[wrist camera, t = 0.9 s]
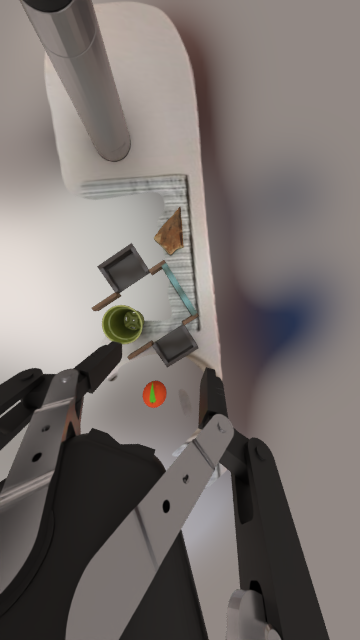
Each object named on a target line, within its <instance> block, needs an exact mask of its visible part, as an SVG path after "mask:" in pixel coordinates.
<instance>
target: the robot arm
mask: <svg viewBox="0 0 360 640" xmlns="http://www.w3.org/2000/svg"><path fill="white" fill-rule="evenodd" d="M20 2H21V4H22V6H23V8H24V10H25V12H26V14H27V16H28V18H29V20H30V22H31V23H32V25H33V27H34V29H35V31H36V33H37V35H38V37H39V39H40V41H41V42H42V45H43V46H44V48H45V50H46V52H47V54H48V56H49V58H50V60H51V62H52V64H53V66H54V68H55V70H56V72H57V74H58V76H59V77H60V79H61V81H62V83H63V85H64V87H65V89H66V91H67V93H68V95H69V97H70V99H71V101H72V103H73V105H74V107H75V108H76V110H77V112H78V114H79V116H80V118H81V120H82V122H83V124H84V126H85V128H86V130H87V132H88V134H89V136H90V138H91V140H92V142H93V143H94V145H95V147H96V149H97V151H98V153H99V154H100V155H101V156H102V157H104V158H105V159H107V160H110V161H118V160H120V159H122V158H124V157H125V156H126V154H127V153H128V151H129V148H130V135H129V132H128V128H127V125H126V121H125V117H124V114H123V110H122V106H121V103H120V99H119V96H118V92H117V89H116V85H115V82H114V78H113V74H112V71H111V67H110V64H109V60H108V57H107V53H106V49H105V46H104V42H103V39H102V35H101V32H100V28H99V24H98V21H97V17H96V14H95V10H94V7H93V3H92V0H20ZM121 358H122V343H119V342H115V341H112V342H111V343H110V344H108V345H104V346H102V347H100V348H98V349H97V350H96V351H95V352H94V353H92V354H91V355H90V356H88V357H87V358H86V359H85V360H83V361H82V362H81V363H80V364H78V365H77V366H76V367H75V368H73V369H67V370H64V371H61V372H59V373H58V374H43V372H42V370H41V369H37V368H32V369H28V370H25V371H22V372H20V373H18V374H17V375H15V376H13V377H12V378H10V379H9V380H7V381H6V382H4V383H2V384H1V385H0V415H1V414H2V413H4V412H5V411H6V410H7V409H9V408H10V407H11V406H13V405H14V404H15V403H16V402H17V401H19V400H21V402H20V403H18V404H17V405H16V406H15V407H13V408H12V409H11V410H10V411H8V412H7V413H6V414H5V415H3V416H2V417H1V418H0V450H1V449H2V448H3V447H4V446H5V445H6V444H8V442H9V441H11V440H12V439H13V438H14V437H15V436H16V435H17V434H18V433H19V432H20V431H21V430H22V429H23V428H24V427H25V426H26V425H27V424H28V423H29V422H30V423H29V426H28V428H27V431H26V433H25V435H24V438H23V440H22V442H21V445H20V448H19V450H18V452H17V455H16V457H15V460H14V462H13V464H12V467H11V469H10V471H9V474H8V476H7V478H6V479H4V480H2V481H1V482H0V640H209V639H208V635H207V631H206V627H205V623H204V619H203V615H202V611H201V606H200V602H199V599H198V595H197V590H196V586H195V583H194V578H193V574H192V570H191V566H190V562H189V558H188V554H187V550H186V546H185V542H184V538H183V534H182V530H181V528H182V526H183V525H184V523H185V521H186V519H187V518H188V516H189V514H190V512H191V511H192V509H193V507H194V505H195V504H196V502H197V500H198V498H199V497H200V495H201V493H202V492H203V490H204V488H205V486H206V485H207V483H208V481H209V479H210V478H211V476H212V474H213V472H214V470H215V467H216V465H217V463H218V462H219V463H221V464H222V465H223V466H224V467H226V468H227V469H228V470H229V471H230V472H231V477H232V490H233V502H234V515H235V528H236V539H237V553H238V565H239V577H240V589H237V590H235V591H234V592H233V593H232V595H231V597H230V600H229V604H228V611H227V631H226V640H330V639H329V636H328V633H327V629H326V626H325V623H324V620H323V616H322V613H321V610H320V607H319V603H318V600H317V597H316V594H315V590H314V587H313V584H312V580H311V577H310V574H309V571H308V567H307V565H306V561H305V558H304V554H303V551H302V548H301V545H300V541H299V538H298V535H297V532H296V528H295V525H294V522H293V519H292V515H291V512H290V509H289V506H288V502H287V499H286V496H285V493H284V489H283V486H282V483H281V480H280V476H279V473H278V470H277V466H276V464H275V460H274V457H273V455H272V453H271V451H270V449H269V448H268V446H267V445H266V444H265V443H264V442H263V441H261V440H260V439H258V438H251V439H250V440H249V439H248V438H246V437H245V436H243V435H242V434H240V433H239V432H238V431H236V430H235V429H234V427H233V426H232V424H231V422H230V421H229V419H228V414H227V408H226V401H225V396H224V395H225V394H224V388H223V383H222V381H221V379H220V378H219V377H216V374H215V370H214V369H210V368H207V367H206V369H205V371H204V374H203V377H202V379H201V385H200V403H199V427H198V428H199V429H202V431H201V432H200V433H199V434H198V436H197V437H196V438H195V439H193V440H192V441H191V442H190V443H189V445H188V446H187V447H186V448H185V449H184V451H183V452H182V453H181V454H180V455H179V457H178V458H177V459H176V460H175V461H174V463H173V464H172V465H171V466H170V467H169V469H168V470H167V471H166V470H165V468H164V466H163V464H162V463H161V461H160V460H159V459H158V458H157V457H156V456H155V455H154V453H155V449H152V448H149V447H146V446H143V445H140V444H124V445H123V444H119V443H118V442H117V441H116V440H115V439H113V438H112V437H111V436H110V435H109V434H108V433H105V432H102V431H100V430H97V429H94V428H92V429H91V431H90V432H89V433H86V434H81V428H80V422H81V415H82V407H83V400H84V395H85V394H86V393H87V392H89V393H93V392H94V391H95V390H96V389H97V388H98V387H99V385H100V384H101V383H102V382H103V381H104V379H105V378H106V377H107V376H108V375H109V374H110V373H111V371H112V370H113V369H114V368H115V367H116V366H117V364H118V363H119V362H120V360H121ZM80 434H81V435H80Z"/></svg>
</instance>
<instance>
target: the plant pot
mask: <svg viewBox="0 0 360 640" xmlns="http://www.w3.org/2000/svg"><path fill="white" fill-rule="evenodd" d="M133 312H135V313H133ZM126 317H127V321H126ZM133 320H134V321H133ZM143 324H144V317H143V315H142V314H141V313H140V312H139V311H136V310H134V309H133V308H131V307H129V306H125V305H118V306H114V307H112V308H110V309H109V310H108V311H107V312H106V313H105V314H104V316H103V319H102V328H103V331H104V333H105V335H106V336H107V338H109V339H110V340H111V341H115V342H119V343H122V344H129V343H132V342H133V341H135V340H136V339H137V338H138V337H139V336H140V334H141V332H142V327H143ZM131 327H135V329H133V328H131Z"/></svg>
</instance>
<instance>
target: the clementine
mask: <svg viewBox="0 0 360 640" xmlns="http://www.w3.org/2000/svg"><path fill="white" fill-rule="evenodd" d="M165 398H166V388H165V386H164V384H163V383H161V382H159V381H152V382H150V383H148V384H147V385H146V387H145V388H144V391H143V400H144V402H145V404H146V405H147V406H149V407H152V408H155V407H158V406H160V405H161V404H162V403H163V402H164V401H165Z"/></svg>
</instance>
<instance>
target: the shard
mask: <svg viewBox="0 0 360 640" xmlns="http://www.w3.org/2000/svg"><path fill="white" fill-rule="evenodd" d="M154 240H155V241H156V242H157V243H158V244H159V245H161V246H162V247H163V248H164V249H165V251H166V252H167V253H168V254H169V255H171V254H172V253H173V252H174V251H175V250H176V249H180V248H183V247H184V246H183V234H182V220H181V208H180V207H179V208H178V210H177V211H176V212H175V213H174V215H173V216H172V217H171V218H170V219H169V220H168V221H167V222H166V223H165V224H164V225H163V226H162V228H161V229H160V230H159V231H158V233H157V234H156V235H155V237H154Z"/></svg>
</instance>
